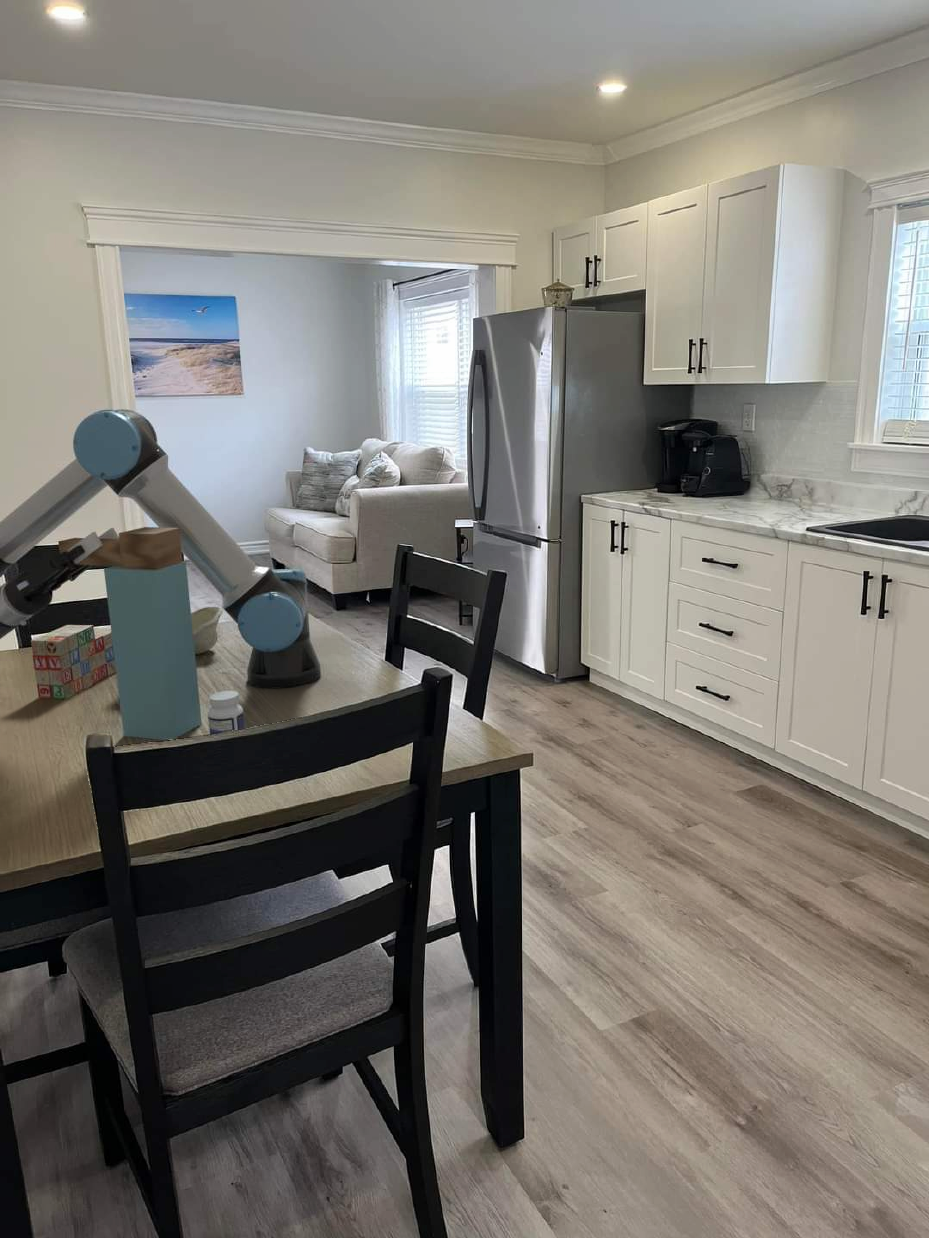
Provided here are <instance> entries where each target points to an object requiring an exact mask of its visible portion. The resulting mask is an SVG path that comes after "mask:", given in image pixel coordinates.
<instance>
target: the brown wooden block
mask: <svg viewBox="0 0 929 1238" xmlns="http://www.w3.org/2000/svg"><path fill="white" fill-rule="evenodd" d="M118 537H119V539H100V541H101V543H102V544H103V546H102V547H100V548H99V549H98V550H96V551H95V552H93V553H92V554H91V555H89V556H88V557H86V558H85V559H84V560H82V561H81V562H79V563H77V564H75V562H74V561H72V562H73V564H74V565H93V566H98V567H99V566H100V567H101V566H102V567H103V566H106V567H112V566H122V567H123V568H126V569H150V570H159V569H162V568H165V567H169V566H172V565H175V564H179V563H182V561H183V553H182V552H181V542H180V532H179V528H159V527H158V526H157V527H154V526H153V527H152V526H151V527H149V526H144V527H138V528H136V529H135V528H134V529H132V530H127V531H122V532H118ZM84 538H85V537H73V538H68V539H63V540H59V541H57V542H58V550H59V555H60V554H61V553H62V552H67V553H68V550H69V549H70V548H71V547H73V546H74V545H75V544H77V543H78V542H80V541H81V540H82V539H84Z"/></svg>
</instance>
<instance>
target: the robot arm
mask: <svg viewBox="0 0 929 1238" xmlns="http://www.w3.org/2000/svg"><path fill="white" fill-rule="evenodd" d="M72 442H73V443H72V447H73V453H74V456H75V459H74V460H73V461H71V462H70V463H69V464H68V465H66V466H65V467H64V468H63V469H61V471H59V472H58V473H57V474H55V476H54V477H52V478H51V479H49V480H48V481H47V482H46V483H45V484H44V485H42V487H40V488H39V489H38V490H37V491H36V492H34V493H33V494H32V495H31V496H29V497H28V498H27V499H26V500H25V501H24V502H22V503H21V504H20V505H18V507H16V508H15V509H14V510H13V511H12V512H10V513H9V514H8V515H7V516H6V517H5V518H3V519H2V520H1V521H0V578H2V576H4V575H5V574H6V572H7V570H8V569H10V568H11V567H12V566H13V565H14V564H15V563H16V562H17V561H19V560H20V559H21V558H22V557H24V556H25V555H26V554H28V553H29V551H31V550H32V549H33V548H34V547H35V546H37V545H38V544H39V543H40V542H42V541H43V540H44V539H45V538H47V536H48V535H50V534H51V533H52V532H53V531H55V530H56V529H57V528H58V527H59V526H61V525H63V523H64V522H65V521H67V520H68V519H69V518H70V517H73V515H74V514H75V513H76V512H78V511H79V510H81V508H83V507H84V506H85V505H86V504H87V503H89V502H90V501H91V500H93V498H94V497H96V496H97V495H99V493H100V492H102V491H103V490H104V489H106V488H107V487H109V488H110V489H111V490H112V491H113V492H114V493H115V494H116V495H117V496H118V497H119V498H128V499H131V500H133V501H134V502H135V503H136V504H137V506H139V508H140V509H141V510H142V511H143V512H144V514H146V515H147V516H148V518H150V520H151V521H152V522H153V523H154V524H155V525H156V526H157V527H159V528H179V532H180V542H181V552H182V555H184V556H185V557H186V558H187V559H188V560H189V562H190V563H191V564H192V565H193V566H194V567H195V568H196V569H197V570H198V571H199V572H200V573H201V574H202V575H203V576H204V577H205V579H206V580H207V581H208V582H209V583H210V585H212V586H213V588H214V589H215V590H216V591H217V592H218V593H220V595H221V597H222V606H221V608H222V610H223V611H224V612H226V613H227V615H229V616H230V618H232V620H233V621H234V622H235V623H236V624H237V628H238V629H237V630H238V631H239V634H240V636H241V638H242V639H243V641H245V643H246V644H248V645H249V646H250V647H252V649H251V653H250V658H249V662H248V665H247V671H246V673H247V681H248V683H249V684H251V685H253V686H257V687H262V688H269V689H270V688H272V689H274V688H276V689H277V688H290V687H297V686H302V685H305V684H310V683H312V682H314V681H316V680H318V679H319V678H320V677H321V676H322V675H321V674H322V673H321V662H320V661H319V659H318V656H317V654H316V651H315V648H314V646H313V643H312V641H311V632H310V619H309V606H308V605H309V603H308V602H309V601H308V589H307V586H308V581H307V578H306V577H307V576H306V572H305V571H304V570H302V569H296V568H284V569H283V568H281V569H278V568H277V569H272V568H271V567H269V566H259V565H257V564H256V563H255V562H254V561H253V560H252V559H251V558H250V557H249V556H248V554H247V553H246V552H245V551H244V550H243V549H242V548H241V547H240V546H239V544H238V543H237V541H235V540H234V539H233V538H232V537H231V536H230V535H229V533H228V532H227V531H226V530H225V529H224V528H223V527H222V525H220V523H219V522H218V521H217V520H216V519H215V518H214V517H213V516H212V515H211V514H210V513H209V512H208V510H207V509H206V508H205V507H204V506H203V504H201V502H199V500H198V499H197V498H196V497H195V496H194V494H192V493H191V491H190V490H189V489H188V488H187V487H186V486H185V485H184V484H183V482H181V481H180V480H179V478H178V477H177V476H176V475H175V474H174V473H173V472H172V470H171V469H170V467H169V455H168V454H167V453H166V452H165V450H164V449H163V448H162V447H161V446H160V445H159V444H158V437H157V433H156V431H155V428H154V426H153V424H152V423H151V422H150V421H149V420H148V419H147V418H146V417H145V416H144V415H142V414H141V413H139V412H136V411H134V410H131V409H115V410H114V409H100V410H98V411H95V412H93V413H92V414H89V415H87V416H86V417H85V418H84V419H83V420H81V422H80V423H79V424H78V425H77V428H76V429H75V432H74V435H73V441H72ZM83 538H84V539H82V540H81V541H80V542H78V543H77V544H75V545H74V546H73V547H71V548H70V549H69V550H68V553H67V552H62V553H61V554H60V553H59V555H56V554H55V555H51V557H49V558H48V559H47V560H45V561H43V562H42V563H41V564H39V565H38V566H37V567H35V568H34V569H32V570H23V571H20V572H18V573H17V574H16V575H14V576H13V577H12V578H11V579H9V580H8V581H6V582H5V583H3V584H1V585H0V640H1V639H2V638H4V637H5V636H7V635H8V634H9V633H11V632H12V631H14V630H15V629H16V628H18V627H19V626H20V625H21V626H26V625H27V620H29V619H30V618H32V617H33V616H34V615H36V614H38V613H40V612H41V611H42V610H44V609H46V608H47V607H48V606H49V605H51V602H52V601H53V592H55V591H57V590H58V589H60V588H61V587H62V585H63V584H65V583H67V582H68V581H69V582H74V581H75V580H76V579H77V578H78V577H79V576H80V575H82V574H84V573H85V572H87V570H89V569H90V568H92V567H93V566H94V565H74V564H73V562H72V561H74V562H75V564H77V563H79V562H81V561H82V560H84V559H85V558H86V557H88V556H89V555H91V554H92V553H93V552H95V551H96V550H98V549H99V548H100V547H102V546H103V544H102V543H101V541H100V539H119V534H118V533H117V531H116V530H115V528H114V527H111V528H109V529H108V530H106V531H105V532H104V533H102V534H101V535H100V536H98V534H97V532H96V531H93V532H92V531H91V533H89V534H88V535H87V536H85V537H83Z"/></svg>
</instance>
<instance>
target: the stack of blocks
mask: <svg viewBox="0 0 929 1238" xmlns="http://www.w3.org/2000/svg"><path fill="white" fill-rule="evenodd" d="M30 645H31V650H32V661H33V662H32V663H33V669H34V672H35V679H36V686H37V694H38V698H39V697H41V698H40V699H55V700H58V699H59V700H60V699H61V700H67V699H69V698H71V697H72V696H74V695H76V694H78V693H80V692H83V691H84V690H86V689H88V688H90V687H92V686H93V685H95V684H96V683H99V682H101V681H102V680H104V679H106V678H107V677H109V676H112V675H113V674H116V666H115V658H114V650H113V641H112V633H111V627H109V628H108V627H106V628H104V627H103V628H102V627H94V625H93V624H92V625H91V624H90V625H89V624H88V625H85V624H83V625H82V624H81V625H80V624H66V625H64V626H62V627H60V628H57V629H55V630H52V631H50V632H48V633H45V634H44V635H41V636H37V637H36V638H34V639H31V640H30Z"/></svg>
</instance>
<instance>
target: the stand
mask: <svg viewBox="0 0 929 1238" xmlns="http://www.w3.org/2000/svg"><path fill="white" fill-rule="evenodd" d="M187 569H188V567H187V561H183V560H182V563H179V564H175V565H172V566H169V567H165V568H162V569H159V570H150V569H126V568H123V567H122V566H108V567H106V568H104V569H103V571H104V572H103V573H104V582H105V589H106V598H107V605H108V614H109V615H108V616H109V623H110V628H111V633H112V641H113V650H114V658H115V666H116V672H115V674H116V681H117V691H118V698H119V707H120V716H121V722H122V723H121V724H122V731H123V733H122V734H123V737H130V738H131V737H132V738H140V739H141V738H142V739H150V740H160V741H167V740H169V739H175V740H176V739H178V738H179V737H178V736H180V737H182V736H183V735H185V734H187V733H188V732H190V731H191V730H193V729H195V728H196V727H198V726H199V725H201V724H203V723H202V722H203V721H202V714H201V701H200V694H199V693H200V691H199V682H198V671H197V661H196V654H195V650H194V639H193V629H192V619H191V613H192V610H191V600H190V590H189V588H190V587H189V581H188V580H189V578H188V570H187Z"/></svg>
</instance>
